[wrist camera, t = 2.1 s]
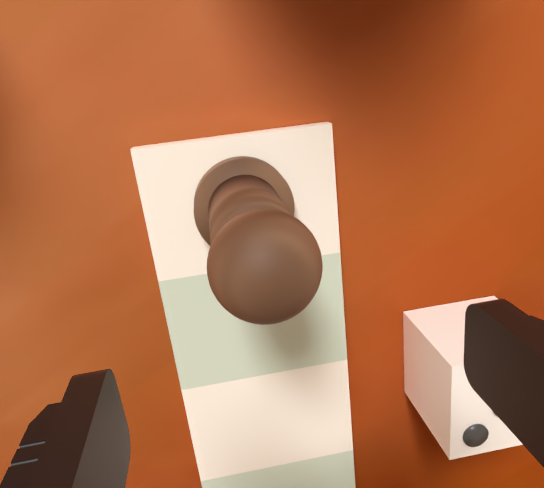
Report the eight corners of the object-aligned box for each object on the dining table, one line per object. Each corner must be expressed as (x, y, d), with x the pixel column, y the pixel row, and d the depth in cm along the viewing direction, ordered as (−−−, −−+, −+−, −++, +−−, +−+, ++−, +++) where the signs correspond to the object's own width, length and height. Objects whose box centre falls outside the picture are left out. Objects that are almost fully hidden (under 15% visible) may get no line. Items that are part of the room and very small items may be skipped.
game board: (326, 121, 25) (331, 123, 24) (353, 515, 34) (357, 527, 33) (133, 146, 24) (130, 149, 23) (216, 545, 33) (217, 558, 32)
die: (493, 295, 30) (564, 347, 24) (489, 375, 32) (553, 440, 26) (403, 311, 29) (453, 368, 23) (404, 391, 31) (450, 461, 26)
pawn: (285, 149, 24) (347, 200, 14) (294, 242, 26) (355, 346, 16) (185, 163, 23) (176, 225, 13) (202, 256, 25) (205, 373, 15)
